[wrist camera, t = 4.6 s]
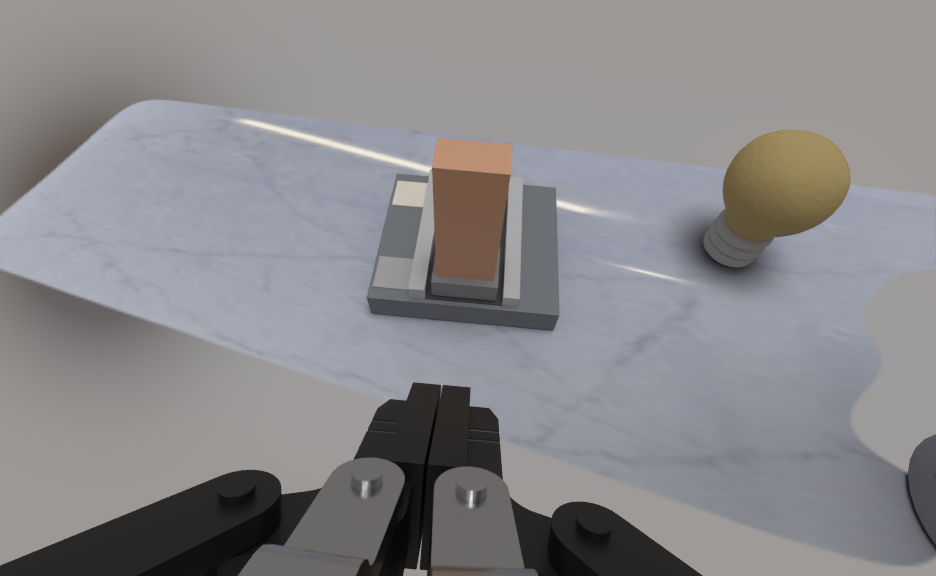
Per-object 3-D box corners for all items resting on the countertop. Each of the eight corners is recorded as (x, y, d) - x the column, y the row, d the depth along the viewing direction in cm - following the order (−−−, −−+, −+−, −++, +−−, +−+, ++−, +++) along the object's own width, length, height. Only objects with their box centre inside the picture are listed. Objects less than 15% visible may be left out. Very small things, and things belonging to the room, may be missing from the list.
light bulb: (673, 217, 36) (743, 105, 27) (753, 220, 36) (848, 110, 27) (692, 285, 32) (779, 181, 24) (781, 289, 32) (899, 187, 24)
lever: (498, 262, 30) (517, 138, 21) (495, 301, 28) (515, 183, 20) (437, 256, 30) (433, 130, 21) (431, 295, 28) (425, 175, 20)
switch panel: (550, 206, 36) (558, 177, 33) (553, 330, 30) (562, 307, 27) (399, 192, 36) (395, 163, 33) (371, 313, 30) (364, 289, 27)
